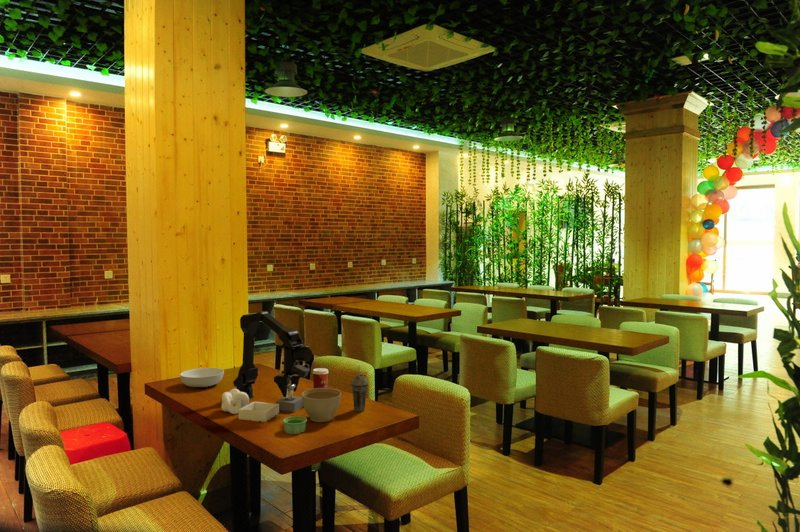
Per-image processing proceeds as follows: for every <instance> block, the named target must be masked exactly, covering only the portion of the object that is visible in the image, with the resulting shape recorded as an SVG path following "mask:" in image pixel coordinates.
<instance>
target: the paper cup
mask: <svg viewBox="0 0 800 532" xmlns="http://www.w3.org/2000/svg"><path fill="white" fill-rule="evenodd" d="M311 373H312V383H313V384H312V385H313V389H315V388H328V381H329V380H328V379H329V378H328V377H329V369H328V368H325V367H319V368H318V367H317V368H314V369H312V372H311Z"/></svg>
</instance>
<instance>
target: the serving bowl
mask: <svg viewBox="0 0 800 532" xmlns="http://www.w3.org/2000/svg"><path fill="white" fill-rule="evenodd" d="M224 374H225V370H224V369H222V368H219V367H218V368H217V367H200V368H193V369H188V370H184V371H182V372H181V373H180V374H179V376H180V377H179V378H180V381H181V382H182V383H183V384H184V385H185V386H187V387H190V388H195V387H205V388H208V386H209V387H211V386H214V385H217V384H218V383H220V382H221V381H222V379H223V377H224Z"/></svg>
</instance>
